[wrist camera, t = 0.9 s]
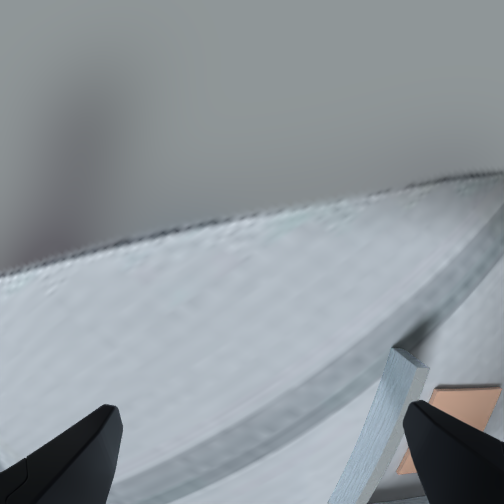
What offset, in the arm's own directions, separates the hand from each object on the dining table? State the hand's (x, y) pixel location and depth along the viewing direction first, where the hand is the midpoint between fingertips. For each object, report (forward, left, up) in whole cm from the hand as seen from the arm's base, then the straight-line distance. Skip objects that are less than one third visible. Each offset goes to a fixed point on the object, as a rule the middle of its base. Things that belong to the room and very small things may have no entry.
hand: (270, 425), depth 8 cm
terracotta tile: (-10, -23, -15) cm, 29 cm away
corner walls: (-11, -22, -15) cm, 29 cm away
